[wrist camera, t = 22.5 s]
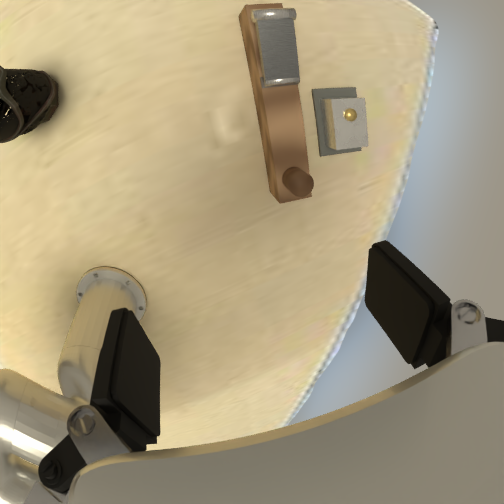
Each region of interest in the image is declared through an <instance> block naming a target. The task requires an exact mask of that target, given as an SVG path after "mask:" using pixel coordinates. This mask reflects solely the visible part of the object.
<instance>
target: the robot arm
mask: <svg viewBox="0 0 504 504" xmlns="http://www.w3.org/2000/svg"><path fill="white" fill-rule="evenodd" d="M77 299H78V302H79V306H78V309H77V311H76V314H75V317H74V319H73V322H72V324H71V327H70V330H69V332H68V335H67V338H66V341H65V344H64V346H63V349H62V352H61V355H60V359H59V362H58V370H57V372H58V380H59V384H60V388H61V390H62V393H63V395H60V394H58V393H55V392H53V391H51V390H49V389H47V388H46V387H44V386H42V385H40V384H38V383H36V382H34V381H32V380H31V379H28V378H27V377H25V376H23V375H21V374H19V373H17V372H15V371H13V370H10V369H1V370H0V504H504V321H502V320H497V319H491V318H487V317H485V315H484V312H483V310H482V308H481V307H480V306H479V305H478V304H477V303H475V302H473V301H470V300H464V299H463V300H458V301H456V302H455V303H454V304H453V305H452V304H451V303H450V298H449V297H448V296H447V295H446V294H445V293H444V292H443V291H442V290H441V289H440V288H439V287H438V286H437V285H436V284H435V283H433V282H432V281H431V280H430V279H429V278H428V277H427V276H426V275H425V274H424V273H423V272H422V271H421V270H420V269H419V268H418V267H416V266H415V265H414V264H413V263H412V262H411V261H410V260H409V259H408V258H406V257H405V256H404V255H403V254H402V253H401V252H399V251H398V250H397V249H396V248H395V247H394V246H393V245H392V244H390V243H389V242H388V241H386V240H384V241H381V242H378V243H374V244H373V245H372V248H370V249H369V256H368V270H367V282H366V292H365V303H366V307H367V308H368V309H369V311H370V312H371V314H372V315H373V316H374V318H375V319H376V320H377V322H378V323H379V324H380V326H381V327H382V329H383V330H384V331H385V333H386V334H387V336H388V337H389V338H390V340H391V341H392V343H393V344H394V345H395V347H396V348H397V350H398V351H399V352H400V354H401V355H402V357H403V358H404V360H405V361H406V362H407V363H408V364H411V365H412V366H413V367H414V369H416V368H418V367H420V366H421V365H423V364H425V363H426V365H427V366H428V369H426V370H424V371H422V372H420V373H418V374H417V375H415V376H412V377H411V378H409V379H407V380H405V381H403V382H401V383H399V384H396V385H394V386H392V387H390V388H388V389H386V390H384V391H382V392H379V393H377V394H375V395H373V396H370V397H368V398H366V399H363V400H361V401H358V402H356V403H353V404H351V405H348V406H346V407H343V408H341V409H338V410H335V411H333V412H330V413H327V414H324V415H321V416H318V417H315V418H312V419H309V420H306V421H303V422H300V423H296V424H293V425H290V426H286V427H282V428H279V429H275V430H271V431H267V432H263V433H259V434H255V435H250V436H246V437H241V438H236V439H231V440H226V441H221V442H215V443H209V444H202V445H195V446H188V447H181V448H172V449H163V450H151V451H146V444H157V436H159V435H160V358H159V355H158V354H157V352H156V350H155V349H154V347H153V345H152V344H151V342H150V340H149V339H148V337H147V335H146V334H145V332H144V330H143V328H142V327H141V325H140V323H139V321H140V320H141V318H142V317H143V315H144V313H145V309H146V297H145V293H144V291H143V289H142V287H141V286H140V284H139V283H138V282H137V281H136V280H135V279H134V278H133V277H132V276H130V275H129V274H127V273H125V272H123V271H121V270H118V269H115V268H110V267H99V268H95V269H92V270H90V271H88V272H87V273H86V274H84V275H83V277H82V278H81V280H80V282H79V284H78V287H77ZM21 458H22V459H21ZM23 459H24V460H23ZM25 460H26V461H25ZM27 461H29V462H31V463H29V462H27ZM32 463H33V464H32ZM34 464H35V465H34ZM36 465H37V466H36ZM38 466H39V467H38Z"/></svg>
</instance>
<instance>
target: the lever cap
mask: <svg viewBox="0 0 504 504" xmlns="http://www.w3.org/2000/svg"><path fill="white" fill-rule="evenodd" d="M320 105H321V113H322V121H323V130H324V140H325V146H327V147H330V148H332V149H335V150H341V149H349V148H357V147H366V146H368V132H367V119H366V107H365V98H356V97H345V98H326V99H320Z"/></svg>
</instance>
